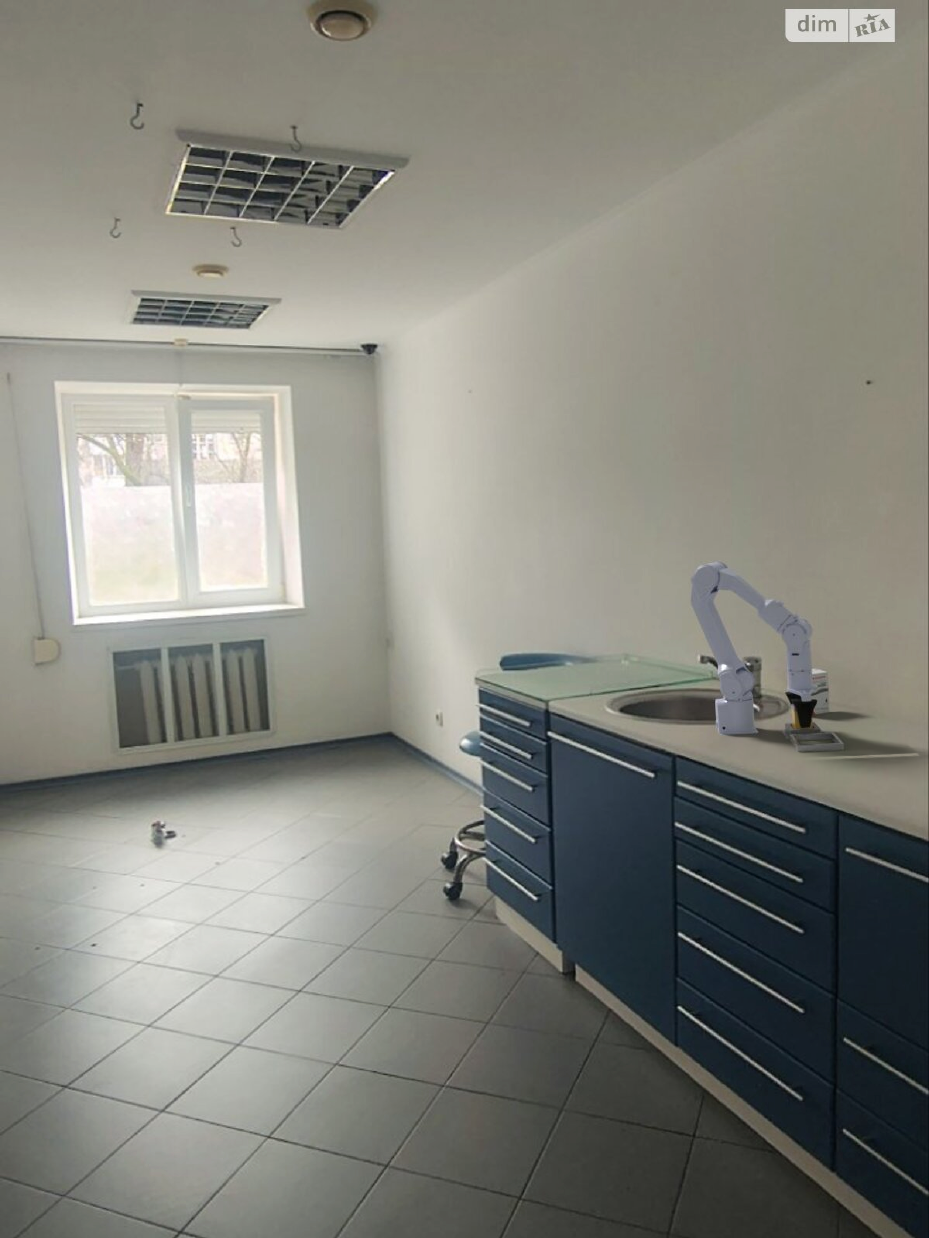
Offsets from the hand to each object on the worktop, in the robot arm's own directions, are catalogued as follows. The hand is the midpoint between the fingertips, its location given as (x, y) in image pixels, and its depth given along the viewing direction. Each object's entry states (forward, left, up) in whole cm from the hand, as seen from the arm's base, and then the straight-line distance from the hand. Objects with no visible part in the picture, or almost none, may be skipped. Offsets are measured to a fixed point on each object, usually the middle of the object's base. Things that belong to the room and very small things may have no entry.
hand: (802, 723), depth 215 cm
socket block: (0, 0, -3) cm, 3 cm away
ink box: (+6, +21, -3) cm, 22 cm away
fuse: (0, 0, -2) cm, 2 cm away
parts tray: (+1, -10, -3) cm, 11 cm away
